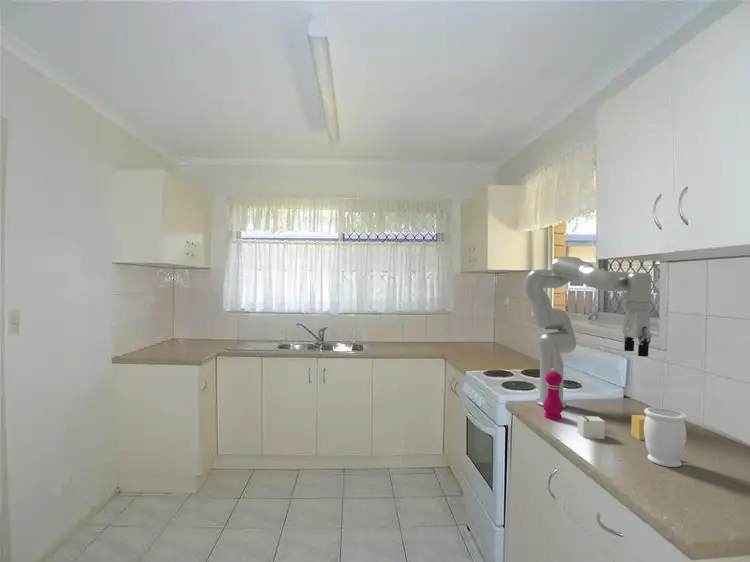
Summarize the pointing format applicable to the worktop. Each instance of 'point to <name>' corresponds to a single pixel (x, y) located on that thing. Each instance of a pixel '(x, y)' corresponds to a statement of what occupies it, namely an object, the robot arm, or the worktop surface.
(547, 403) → the pepper mill
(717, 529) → the worktop surface
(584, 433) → the ticket
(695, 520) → the worktop surface
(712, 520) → the worktop surface
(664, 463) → the jar
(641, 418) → the stub
